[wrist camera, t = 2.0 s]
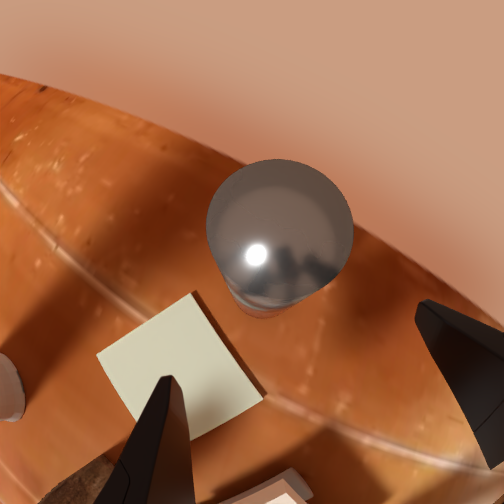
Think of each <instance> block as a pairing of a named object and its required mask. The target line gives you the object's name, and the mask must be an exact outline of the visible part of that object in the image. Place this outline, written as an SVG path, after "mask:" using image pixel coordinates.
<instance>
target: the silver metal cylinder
mask: <svg viewBox="0 0 504 504" xmlns="http://www.w3.org/2000/svg"><path fill="white" fill-rule="evenodd" d="M206 233H207V240H208V244H209V247H210V250H211V252H212V255H213V257H214V259H215V261H216V263H217V265H218V267H219V269H220V271H221V274H222V276H223V278H224V280H225V282H226V284H227V286H228V288H229V290H230V292H231V294H232V296H233V298H234V300H235V302H236V303H237V305H238V306H239V308H240V309H241V310H242V311H243V312H245V313H246V314H248V315H250V316H252V317H255V318H260V319H267V318H272V317H275V316H277V315H279V314H281V313H282V312H284V311H286V310H287V309H289V308H291V307H292V306H294V305H295V304H297V303H299V302H300V301H302V300H303V299H305V298H307V297H308V296H310V295H311V294H313V293H315V292H316V291H318V290H319V289H321V288H322V287H324V286H325V285H327V284H328V283H329V282H330V281H332V280H333V279H334V278H335V277H336V276H337V275H338V273H339V272H340V271H341V270H342V268H343V267H344V265H345V263H346V262H347V259H348V257H349V255H350V252H351V248H352V244H353V237H354V226H353V219H352V215H351V211H350V208H349V206H348V204H347V201H346V200H345V198H344V196H343V194H342V193H341V192H340V190H339V189H338V188H337V187H336V185H335V184H334V183H333V182H332V181H331V180H330V179H328V178H327V177H326V176H325V175H324V174H322V173H321V172H319V171H317V170H316V169H314V168H312V167H310V166H308V165H305V164H302V163H299V162H295V161H291V160H282V159H273V160H264V161H259V162H255V163H253V164H249V165H247V166H245V167H243V168H241V169H239V170H238V171H236V172H234V173H233V174H232V175H231V176H229V177H228V178H227V179H226V180H225V181H224V182H223V183H222V184H221V185H220V187H219V188H218V190H217V191H216V193H215V194H214V196H213V198H212V200H211V203H210V206H209V209H208V213H207V218H206Z"/></svg>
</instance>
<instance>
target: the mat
mask: <svg viewBox="0 0 504 504" xmlns="http://www.w3.org/2000/svg"><path fill="white" fill-rule="evenodd" d="M96 356H97V357H98V359H99V361H100V363H101V365H102V367H103V368H104V370H105V372H106V374H107V376H108V377H109V379H110V381H111V382H112V384H113V386H114V387H115V389H116V391H117V392H118V394H119V396H120V397H121V399H122V400H123V402H124V403H125V405H126V406H127V408H128V410H129V411H130V413H131V414H132V416H133V417H134V418H135V420H136V421H138V419H139V417H140V415H141V413H142V411H143V409H144V407H145V405H146V403H147V401H148V400H149V398H150V396H151V394H152V392H153V390H154V388H155V386H156V384H157V382H158V380H159V378H160V377H161V376H166V375H173V376H174V378H175V379H176V381H177V382H178V384H179V385H180V387H181V389H182V392H183V397H184V403H185V409H186V415H187V421H188V426H189V433H190V441H191V440H193V439H195V438H197V437H199V436H201V435H203V434H205V433H207V432H208V431H210V430H212V429H214V428H216V427H218V426H219V425H221V424H223V423H225V422H227V421H228V420H230V419H232V418H233V417H235V416H237V415H239V414H240V413H242V412H244V411H245V410H247V409H249V408H250V407H252V406H253V405H255V404H257V403H258V402H260V401H261V400H263V397H262V396H261V395H260V393H259V392H258V391H257V389H256V388H255V386H254V385H253V384H252V382H251V381H250V380H249V378H248V377H247V376H246V374H245V373H244V371H243V370H242V369H241V367H240V366H239V364H238V363H237V362H236V360H235V359H234V357H233V356H232V354H231V353H230V352H229V350H228V349H227V347H226V346H225V344H224V343H223V341H222V340H221V338H220V337H219V335H218V334H217V332H216V331H215V329H214V328H213V326H212V325H211V323H210V322H209V320H208V319H207V317H206V316H205V314H204V313H203V311H202V310H201V308H200V307H199V305H198V303H197V302H196V300H195V299H194V297H193V296H192V294H191V293H189V294H188V295H186V296H185V297H183V298H182V299H180V300H179V301H177V302H176V303H174V304H173V305H171V306H169V307H168V308H166V309H165V310H163V311H162V312H160V313H159V314H157V315H156V316H154V317H153V318H151V319H150V320H148V321H147V322H145V323H144V324H142V325H141V326H139V327H138V328H136V329H135V330H133V331H132V332H130V333H128V334H127V335H125V336H124V337H122V338H121V339H119V340H118V341H116V342H115V343H113V344H112V345H110V346H109V347H107V348H106V349H104V350H103V351H101V352H100V353H98V354H97V355H96Z"/></svg>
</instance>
